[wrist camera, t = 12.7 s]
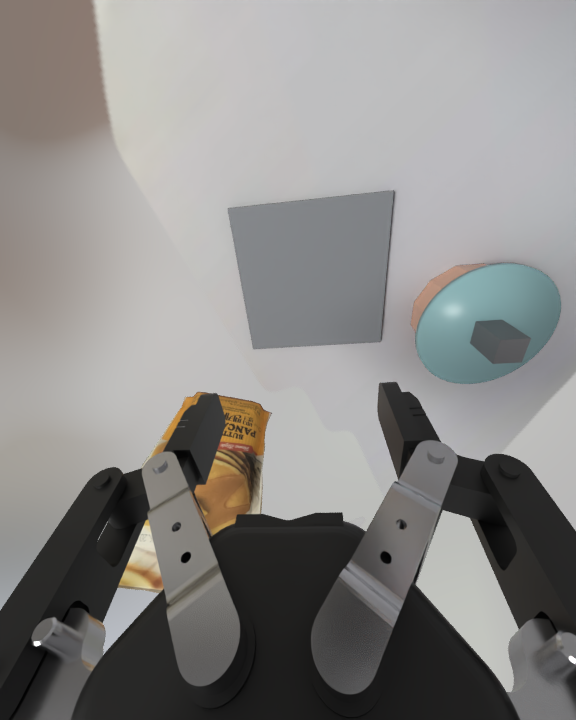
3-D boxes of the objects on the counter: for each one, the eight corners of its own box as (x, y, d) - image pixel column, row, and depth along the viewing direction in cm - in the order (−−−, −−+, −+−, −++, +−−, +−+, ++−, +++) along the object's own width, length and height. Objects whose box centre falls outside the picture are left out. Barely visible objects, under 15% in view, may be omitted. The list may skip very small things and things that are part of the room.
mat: (229, 208, 35) (227, 208, 34) (391, 190, 33) (393, 190, 32) (254, 346, 45) (253, 349, 44) (379, 339, 43) (380, 342, 42)
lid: (425, 269, 31) (448, 284, 26) (578, 256, 30) (634, 269, 25) (407, 382, 40) (423, 410, 35) (527, 376, 38) (561, 405, 33)
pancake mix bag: (274, 429, 55) (250, 614, 31) (179, 412, 54) (76, 589, 30) (280, 404, 51) (259, 590, 27) (178, 385, 50) (62, 560, 26)
